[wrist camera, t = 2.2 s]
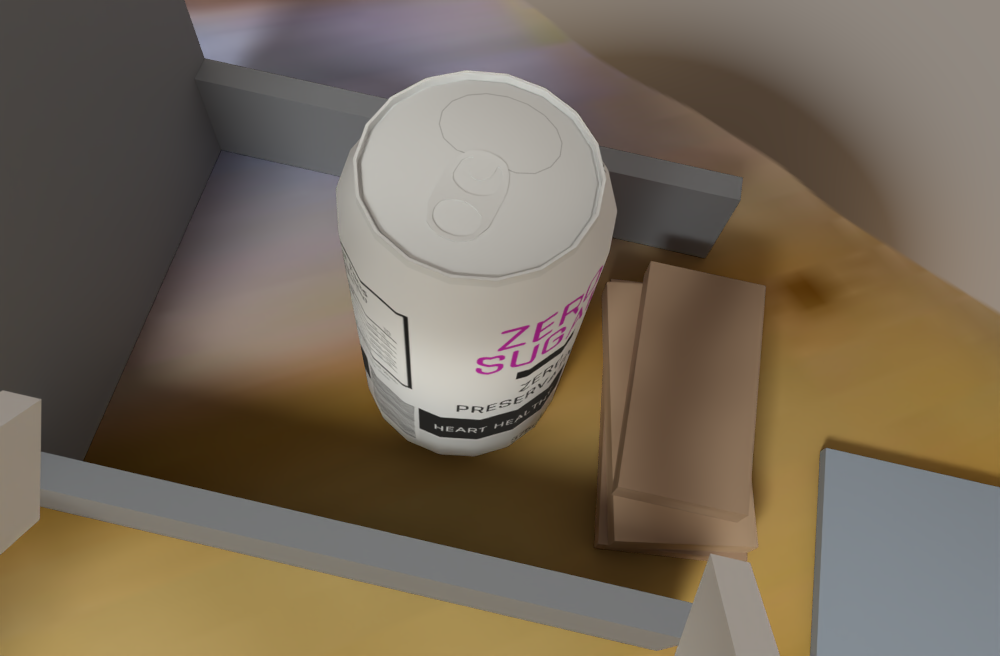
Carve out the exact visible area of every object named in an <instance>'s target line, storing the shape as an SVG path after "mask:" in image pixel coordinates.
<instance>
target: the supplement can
mask: <svg viewBox="0 0 1000 656" xmlns="http://www.w3.org/2000/svg"><path fill="white" fill-rule="evenodd" d="M336 199H337V216H338V232H339V237H340V242H341V247H342V252H343V257H344V262H345V267H346V273H347V278H348V283H349V288H350V293H351V298H352V303H353V309H354V314H355V319H356V324H357V329H358V334H359V339H360V345H361V350H362V355H363V360H364V365H365V370H366V375H367V380H368V386H369V389H370V392H371V394H372V396H373V398H374V400H375V402H376V404H377V406H378V408H379V410H380V412H381V414H382V416H383V418H384V419H385V420H386V421H387V422H388V423H389V424H390V425H391V426H392V427H394V428H395V429H396V430H397V431H398V432H399V433H400V434H401V435H402V436H403V437H404V438H405V439H406V440H407V441H409V442H412V443H414V444H416V445H419V446H421V447H424V448H426V449H428V450H431V451H433V452H435V453H438V454H443V455H459V456H477V455H481V454H484V453H488V452H491V451H495V450H498V449H502V448H505V447H508V446H509V445H511V444H512V443H513V442H515V441H516V440H517V439H519V438H520V437H522V436H523V435H524V434H526V433H527V432H528V431H530V430H531V429H533V428H534V427H535V425H536V424H537V422H538V421H539V419H540V418H541V416H542V414H543V413H544V411H545V410H546V408H547V407H548V405H549V404H550V402H551V401H552V398H553V395H554V393H555V390H556V388H557V385H558V383H559V380H560V378H561V375H562V372H563V370H564V367H565V365H566V362H567V360H568V357H569V354H570V352H571V349H572V347H573V344H574V342H575V339H576V336H577V334H578V331H579V329H580V326H581V324H582V321H583V318H584V316H585V313H586V311H587V308H588V306H589V303H590V300H591V298H592V295H593V293H594V290H595V288H596V285H597V282H598V280H599V277H600V275H601V272H602V270H603V267H604V265H605V262H606V259H607V257H608V254H609V252H610V246H611V241H612V236H613V231H614V225H615V220H616V215H617V207H616V203H615V198H614V194H613V189H612V185H611V180H610V176H609V171H608V169H607V167H606V166H605V164H604V162H603V161H602V158H601V154H600V149H599V145H598V142H597V141H596V139H595V138H594V136H593V135H592V134H591V132H590V131H589V129H588V128H587V126H586V125H585V123H584V122H583V120H582V119H581V117H580V116H579V114H578V113H577V112H576V111H575V110H574V109H572V108H571V107H570V106H568V105H567V104H566V103H564V102H563V101H562V100H560V99H559V98H558V97H556V96H555V95H554V94H553V93H551V92H550V91H549V90H547V89H546V88H544V87H541V86H538V85H536V84H533V83H530V82H528V81H525V80H522V79H520V78H517V77H514V76H512V75H509V74H503V73H491V72H480V71H468V70H465V71H460V72H455V73H450V74H444V75H439V76H434V77H429V78H425V79H423V80H421V81H419V82H418V83H416V84H414V85H412V86H410V87H408V88H406V89H404V90H403V91H401V92H399V93H397V94H395V95H393V96H391V97H390V98H389V99H388V101H387V102H386V103H385V104H384V105H383V106H382V107H381V108H380V109H379V110H378V112H377V113H376V114H375V115H374V116H373V117H372V118H371V119H370V120H369V121H368V122H367V124H366V125H365V128H364V130H363V133H362V136H361V138H360V139H359V140H358V142H357V143H356V144H355V145H354V146H353V147H352V148H351V149H350V152H349V154H348V157H347V160H346V163H345V165H344V168H343V171H342V173H341V176H340V179H339V182H338V184H337V187H336Z"/></svg>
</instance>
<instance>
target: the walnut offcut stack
mask: <svg viewBox="0 0 1000 656" xmlns="http://www.w3.org/2000/svg"><path fill="white" fill-rule="evenodd" d="M765 291H766V286H764V285H759V284H755V283H750V282H746V281H741V280H736V279H732V278H727V277H723V276H718V275H713V274H709V273H704V272H700V271H695V270H690V269H686V268H681V267H677V266H672V265H667V264H663V263H658V262H654V261H651V262H650V264H649V266H648V268H647V270H646V272H645V274H644V278H643V282H634V281H626V280H618V279H610V282H607V283H606V286H605V288H604V290H603V293H602V331H603V376H602V396H601V416H600V437H599V457H598V477H597V497H596V517H595V538H594V548H598V549H606V550H615V551H624V552H632V553H641V554H650V555H659V556H667V557H676V558H685V559H694V560H702V561H708V559H709V556H710V554H715V555H719V556H723V557H728V558H732V559H736V560H741V561H745V562H746V561H747V553H748V552H750V551H752V550H754V549H756V548H758V539H757V529H756V519H755V509H754V499H753V489H752V479H751V476H752V463H753V449H754V436H755V423H756V410H757V397H758V383H759V370H760V357H761V344H762V331H763V317H764V304H765Z"/></svg>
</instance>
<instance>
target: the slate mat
mask: <svg viewBox="0 0 1000 656" xmlns="http://www.w3.org/2000/svg"><path fill="white" fill-rule="evenodd" d="M810 656H1000V487H996V486H991V485H987V484H983V483H978V482H974V481H969V480H965V479H961V478H956V477H952V476H948V475H943V474H939V473H934V472H930V471H926V470H921V469H917V468H912V467H908V466H904V465H899V464H895V463H891V462H886V461H882V460H877V459H873V458H869V457H864V456H860V455H855V454H851V453H847V452H842V451H838V450H833V449H829V448H825V449H824V450H822V451H820V465H819V485H818V506H817V526H816V547H815V567H814V588H813V609H812V629H811V650H810Z"/></svg>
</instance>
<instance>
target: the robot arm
mask: <svg viewBox="0 0 1000 656" xmlns="http://www.w3.org/2000/svg"><path fill="white" fill-rule="evenodd" d="M40 463H41V399H38V398H34V397H30V396H25V395H21V394H17V393H12V392H8V391H4V390H3V391H1V392H0V555H1V554H2V553H3V552H4V551H5V550H6V549H7V548H8V547H10V546H11V545H12V544H13V543H14V542H15V541H16V540H17V539H18V538H20V537H21V536H22V535H23V534H24V533H25V532H26V531H27V530H29V529H30V528H31V527H32V526H33V525H34V524H35V523H36V522H37V521H39V520H40ZM675 656H780V654H779V651H778V648H777V645H776V642H775V639H774V636H773V633H772V630H771V626H770V623H769V620H768V617H767V614H766V611H765V608H764V605H763V602H762V598H761V595H760V592H759V589H758V586H757V583H756V580H755V577H754V574H753V571H752V567H751V564H750V563H749V562H745V561H741V560H736V559H732V558H728V557H723V556H719V555H715V554H710V556H709V559H708V562H707V564H706V567H705V570H704V573H703V576H702V579H701V582H700V584H699V587H698V590H697V593H696V596H695V599H694V602H693V604H692V607H691V610H690V613H689V616H688V619H687V621H686V624H685V627H684V630H683V633H682V636H681V639H680V641H679V644H678V647H677V650H676V653H675Z"/></svg>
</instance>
